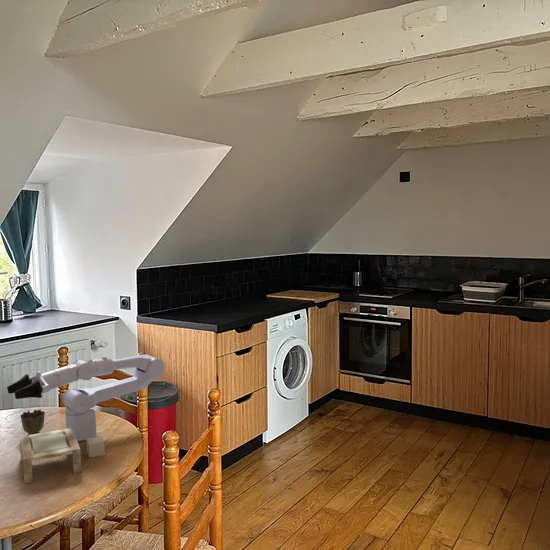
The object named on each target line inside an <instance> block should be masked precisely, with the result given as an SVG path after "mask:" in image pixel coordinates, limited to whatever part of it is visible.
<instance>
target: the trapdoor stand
mask: <svg viewBox="0 0 550 550" xmlns="http://www.w3.org/2000/svg"><path fill="white" fill-rule="evenodd" d="M59 433H63V435H65V437H64V438H65V440H66V443H67V446H68V448H63V449H58V450H52V451H47V452H41V453H36V454H34V452H33V448H32V443H31V438H35V437H41V436H47V435H53V434H59ZM19 448H20V449H19V450H20V461H21V462H23V477H24V478H23V479H24V480H23V481H24V484H29V483H33V482H34V481H33V478H34V477H33V464H32V463H33V462H34V461H35V462H36V461H40V460H41V461H42V460H46V459H51V458H56V457H61V456H68V454H69V455H72V471H74V472H73V474H77V472H79V473H82V459H81V458H82V457H81V456H82V455H81V447H80V445H79V441H77V440H76V437H75V435H74V433H73V430H72V428H68V429H66V428H63V429H57V430H50V431H44V432H40V433H38V434H32V435H28V434H27V435H21V436H19Z"/></svg>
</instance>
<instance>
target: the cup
mask: <svg viewBox="0 0 550 550" xmlns="http://www.w3.org/2000/svg"><path fill="white" fill-rule="evenodd" d="M45 414H46V413H45V411H44V410H41V409H34V410H33V412H30V411H29V410H28V411H23V413H21V414H20V418H21V419H20V420H21V425H22V429H23V431H24V432H25V433H27V435H32V434H38V433H41V431H42V430H43V428H44V425H45Z"/></svg>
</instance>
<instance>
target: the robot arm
mask: <svg viewBox="0 0 550 550" xmlns="http://www.w3.org/2000/svg"><path fill="white" fill-rule="evenodd" d="M131 368H135V371H134V374H133V376H132V377H128V378H123V379H121V380H116V381H113V382H110V383H106V384H103V385H99V386H95V387H91V388H80V389H78V388H77V389H76V388H70V389H67V390H66V391H65V392H64V393H63V395H62V398H61V402H62V404H63V405H64V406H65V412H64V414H65V429H68V428H72V430H73V433H74V435H75V437H76V440H77V442H82V441H87V439H89V438H94V437H98V436H97V418H96V411H95V409H94V408H95V406H96V405H97V404H99V403H101V402H105V401H109V400H111V399H115V398H119V397H121V396H124V395H128V394H132V393H135V392H138V391H142V390H144V389H146V388H147V387H148V386H149V385H150V384H151V383H153V382H154V380H157V379H158V378H160V377H161V376H162V374H163V372H164V370H165V363H164V361H163V360H162V359H161V358H157V357H155V356H151V355H150V354H148V353H147V354H146V353H145V354H137V355H132V356H127V357H122V358H117V359H112V358H111V357H108V356H105V355H103V356H101V358H95V359H93V358H88V359H87V360H86V361H85V360H84V359H80V360H79V359H76V360H74V361H73V362H72V364H69V365H65V366H62V367H59V368H56V369H52V370H49V371H46V372H43V373H41V371H39V370H37V371H36V374H35V375H32V376H29V374H28V373H26V374H24V375H23V376H22V377H21V378H20V379H18V380H17V381H15V382H13V383H11V384H10V385H8V386H7V387H6V388H7V393H8V394H14V398H15V400H21V399H28V398H29V399H30V398H37V399H41V398H43V395H42V394H45V393H48V392H50V391H51V390H54V389H57V388H60V387H64V386H65V385H70V384H72V383H74V382H77V381H80V380H82V381H90V380H91V379H93V378H94V377H101V376H107V375H111V374H112V373H113V372H114V370H115V371H116V370H124V369H131ZM64 438H65V435H64Z"/></svg>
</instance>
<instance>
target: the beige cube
mask: <svg viewBox="0 0 550 550" xmlns="http://www.w3.org/2000/svg"><path fill="white" fill-rule="evenodd" d="M105 450H106V449H105V440H104V438H103V436H102V435H100V436H97V437H94V438H89V439H87V440H86V453H87V455H88V457H92V458H96V457H95V456H97V457H101V456H100V455H102V456H105V454H106V452H105Z"/></svg>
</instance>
